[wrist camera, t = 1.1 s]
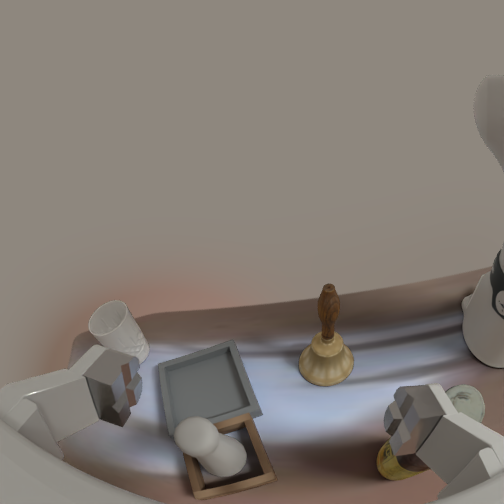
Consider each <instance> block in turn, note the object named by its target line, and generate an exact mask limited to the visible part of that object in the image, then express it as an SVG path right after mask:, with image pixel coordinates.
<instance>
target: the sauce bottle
mask: <svg viewBox="0 0 504 504" xmlns="http://www.w3.org/2000/svg"><path fill="white" fill-rule="evenodd" d="M445 393H446V394H447V396H448V398H449V399H450V401H451V402H452V404H453V406H454V407H455V409H456V410H457V412H458V413H460V412H462V413H463V414H465V415H467V416H468V417H470V418H472V419H474V420H475V421H477V422H479V423H481V421H482V419H483V417H484V413H485V404H484V401H483V398H482V395H481V394H480V392H479V391H478V390H476V389H475V388H474V387H472V386H469V385H457V386H454V387H451V388H450V389H448V390H447V391H446V392H445ZM391 437H392V436H391ZM391 437H390V438H389V439H388V441H387V442H386V443H385V444H384V445H383V446H382V447H381V449H380V451H379V453H378V455H377V460H376V464H377V468H378V470H379V472H380V474H381V475H382V476H383V477H385V478H387V479H390V480H403V479H406V478H409V477H412V476H414V475H417V474H419V473H422V472H424V471H427V470H429V469H431V468H430V467H428V466H427V465H426V464H425V463H424V462H423V461H422V460H421V459H420V458H419V457H418V456H417V455H416V453H414V454H407V455H399V456H394V454H393V451H392V448H391V445H390V442H389V441H390V439H391Z"/></svg>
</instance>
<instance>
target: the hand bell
mask: <svg viewBox="0 0 504 504" xmlns="http://www.w3.org/2000/svg"><path fill="white" fill-rule="evenodd" d="M339 310H340V301H339V297H338V295H337V293H336V290H335V287H334V285H332V284H326V285H324V287H323V290H322V293H321V294H320V297H319V300H318V315H319V318H320V320H321V322H322V332H319V333H318V334H316V335H315V336H314V337H313V339H312V342H311V344H310V345H309V346H307V347H306V348H305V349H304V351H303V352H302V354H301V356H300V358H299V369H300V372H301V374H302V375H303V377H304V378H305V379H306V380H307V381H309V382H310V383H312V384H315V385H318V386H332V385H335V384H338V383H340V382H342V381H343V380H345V379H346V378H347V377H348V376H349V374H350V373H351V371H352V369H353V365H354V358H353V355H352V353H351V351H350V349H349V348H348V347H347V346H346V345H345V344H344V343H343V339H342V337H341V336H340V335H339V334H338V333H336V332H334V324H335V321H336V320H337V318H338V315H339Z"/></svg>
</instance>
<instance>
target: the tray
mask: <svg viewBox="0 0 504 504" xmlns="http://www.w3.org/2000/svg"><path fill="white" fill-rule="evenodd" d="M158 369H159V377H160V384H161V391H162V398H163V404H164V411H165V417H166V422H167V428H168V433H169V436H170V437H172V438H173V439H174V433H175V429H176V427H177V426H178V424H179V423H180V422H181V421H182V420H184V419H186V418H188V417H194V416H199V417H202V418H205V419H208V420H209V421H210V422H211V423H212V424H214V423H218V422H221V421H224V420H227V419H231V418H234V417H237V416H240V415H243V414H246V413H250V415H251V417H252V418H256V417H258V416H261V415H263V414H262V411H261V409H260V406H259V404H258V401H257V399H256V396H255V394H254V391H253V389H252V386H251V384H250V381H249V378H248V376H247V373H246V371H245V368H244V365H243V363H242V360H241V357H240V355H239V352H238V349H237V347H236V344H235V342H234V340H230V341H227V342H224V343H222V344H219V345H216V346H213V347H210V348H207V349H204V350H201V351H198V352H195V353H192V354H189V355H185V356H182V357H179V358H176V359H173V360H169V361H166V362H163V363H159V364H158Z"/></svg>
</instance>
